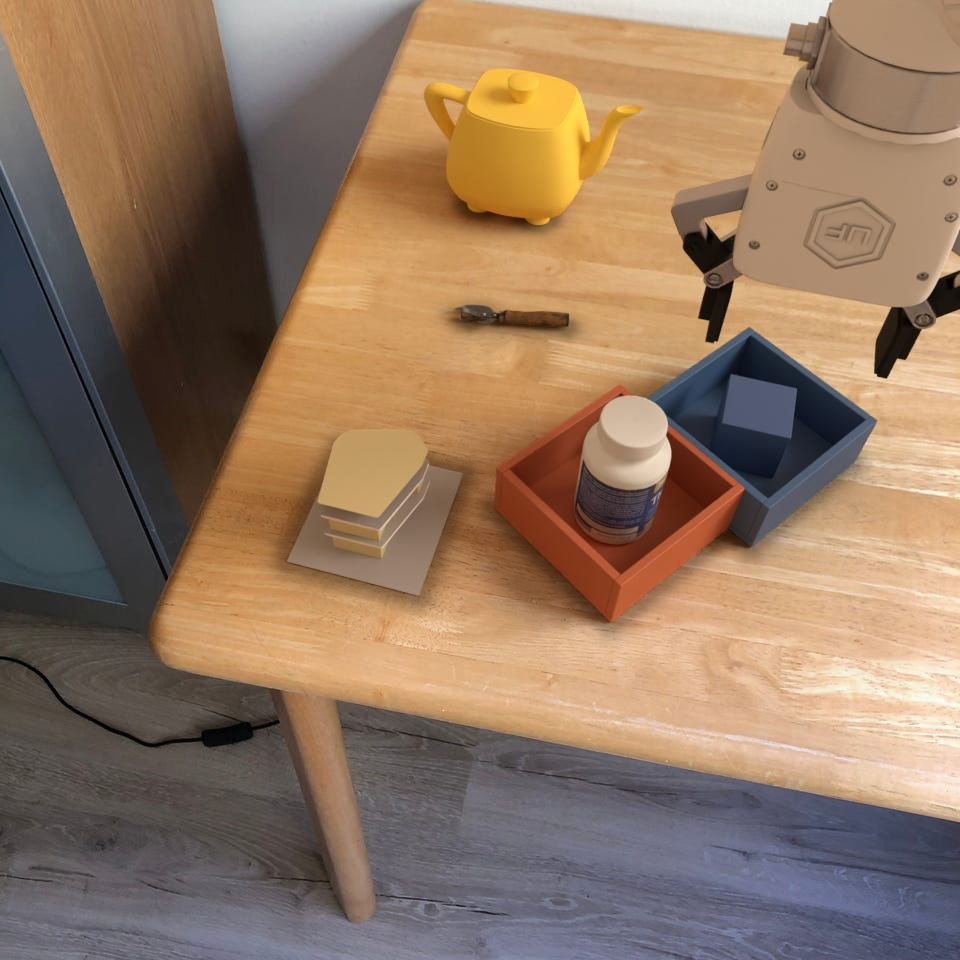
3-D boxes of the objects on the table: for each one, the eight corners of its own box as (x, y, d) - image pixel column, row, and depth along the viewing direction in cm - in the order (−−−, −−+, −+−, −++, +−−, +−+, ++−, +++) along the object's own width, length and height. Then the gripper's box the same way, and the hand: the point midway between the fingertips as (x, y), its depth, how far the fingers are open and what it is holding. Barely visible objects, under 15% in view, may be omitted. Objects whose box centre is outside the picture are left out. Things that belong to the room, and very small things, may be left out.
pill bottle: (656, 548, 63) (685, 458, 55) (574, 546, 63) (590, 456, 55) (649, 481, 66) (675, 386, 58) (570, 479, 66) (586, 384, 58)
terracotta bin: (729, 526, 64) (746, 487, 61) (610, 623, 60) (620, 586, 56) (611, 425, 69) (620, 383, 66) (493, 507, 65) (495, 467, 61)
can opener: (569, 320, 75) (571, 310, 74) (565, 342, 74) (567, 331, 73) (456, 305, 76) (455, 294, 75) (450, 325, 75) (449, 315, 74)
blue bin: (855, 461, 68) (878, 420, 64) (751, 548, 64) (769, 509, 60) (734, 369, 73) (749, 326, 69) (629, 444, 68) (639, 402, 65)
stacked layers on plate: (419, 596, 61) (415, 550, 57) (286, 561, 62) (273, 514, 58) (463, 473, 67) (463, 423, 62) (341, 444, 68) (333, 393, 63)
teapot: (638, 177, 86) (658, 64, 77) (610, 256, 80) (629, 144, 71) (446, 137, 89) (445, 25, 80) (405, 211, 83) (399, 98, 74)
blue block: (772, 479, 66) (791, 438, 62) (707, 463, 67) (721, 422, 63) (779, 429, 69) (797, 388, 65) (716, 415, 69) (730, 373, 66)
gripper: (695, 80, 42) (638, 357, 56) (1118, 149, 39) (949, 422, 53) (717, -2, 46) (660, 274, 60) (1100, 55, 44) (948, 330, 57)
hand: (796, 343), depth 56 cm, fingers open, 9 cm apart
